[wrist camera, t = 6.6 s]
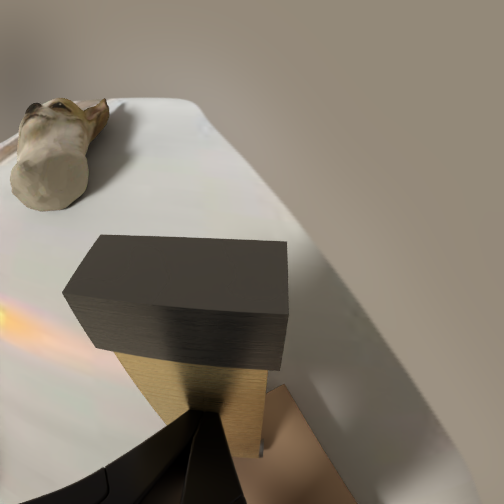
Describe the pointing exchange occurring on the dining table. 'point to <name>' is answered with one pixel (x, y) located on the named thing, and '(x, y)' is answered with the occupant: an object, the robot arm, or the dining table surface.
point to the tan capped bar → (190, 322)
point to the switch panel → (289, 460)
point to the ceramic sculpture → (55, 153)
